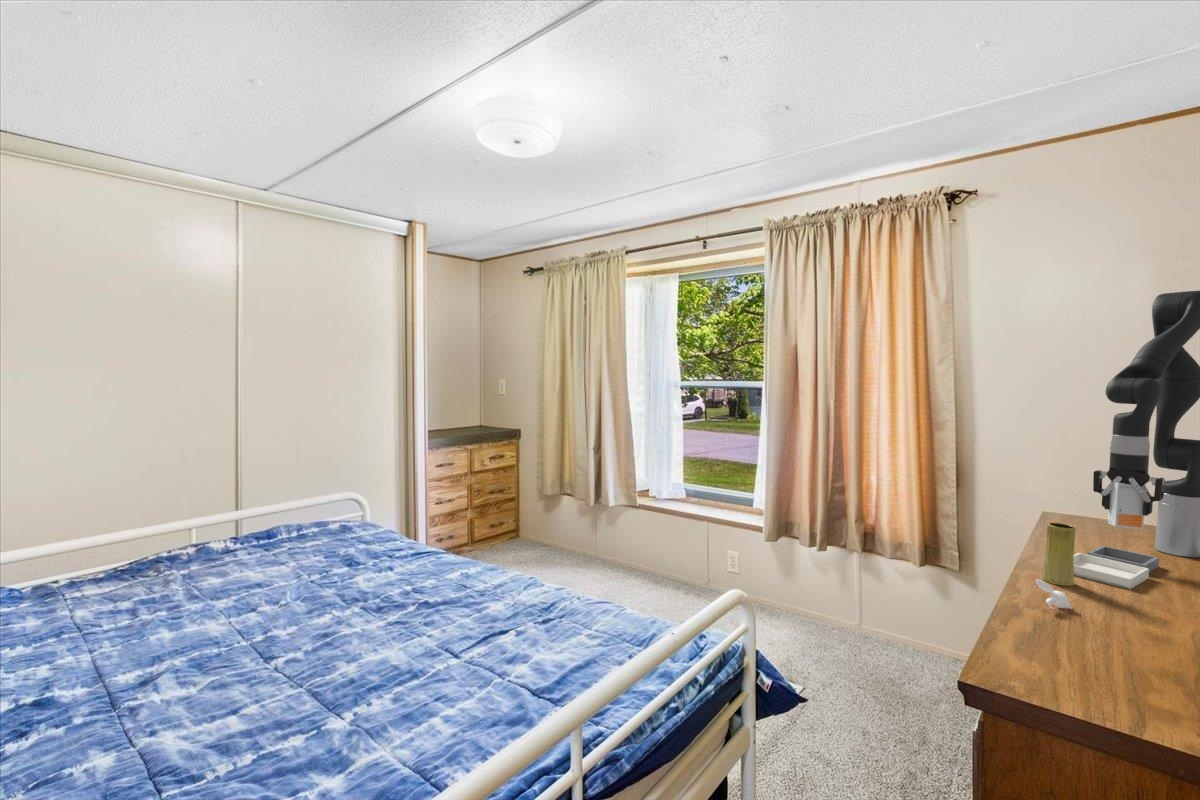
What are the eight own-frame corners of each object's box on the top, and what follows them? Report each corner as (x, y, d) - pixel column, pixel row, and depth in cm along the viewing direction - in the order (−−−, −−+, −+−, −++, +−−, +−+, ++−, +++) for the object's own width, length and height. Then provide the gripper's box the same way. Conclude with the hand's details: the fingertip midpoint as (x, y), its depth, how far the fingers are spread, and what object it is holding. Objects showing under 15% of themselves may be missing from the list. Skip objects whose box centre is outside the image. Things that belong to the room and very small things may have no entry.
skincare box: (1115, 527, 147) (1117, 483, 146) (1107, 523, 151) (1109, 480, 150) (1144, 529, 144) (1147, 485, 144) (1135, 525, 148) (1138, 482, 148)
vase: (1080, 587, 132) (1083, 529, 131) (1051, 585, 133) (1054, 528, 132) (1064, 578, 138) (1067, 522, 137) (1036, 576, 139) (1039, 521, 138)
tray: (1078, 561, 150) (1078, 552, 150) (1148, 578, 138) (1149, 568, 138) (1057, 570, 142) (1058, 561, 142) (1129, 589, 131) (1130, 579, 130)
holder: (1102, 554, 156) (1102, 545, 156) (1158, 566, 146) (1159, 557, 146) (1086, 561, 150) (1087, 552, 150) (1144, 575, 140) (1145, 565, 140)
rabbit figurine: (1083, 614, 117) (1053, 598, 116) (1066, 622, 120) (1037, 607, 119) (1069, 590, 122) (1041, 575, 121) (1053, 598, 124) (1025, 584, 123)
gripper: (1171, 454, 142) (1167, 516, 143) (1099, 447, 154) (1096, 504, 155) (1162, 456, 138) (1158, 520, 139) (1089, 449, 150) (1086, 508, 151)
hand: (1125, 511), depth 147 cm, fingers closed on skincare box, 7 cm apart
